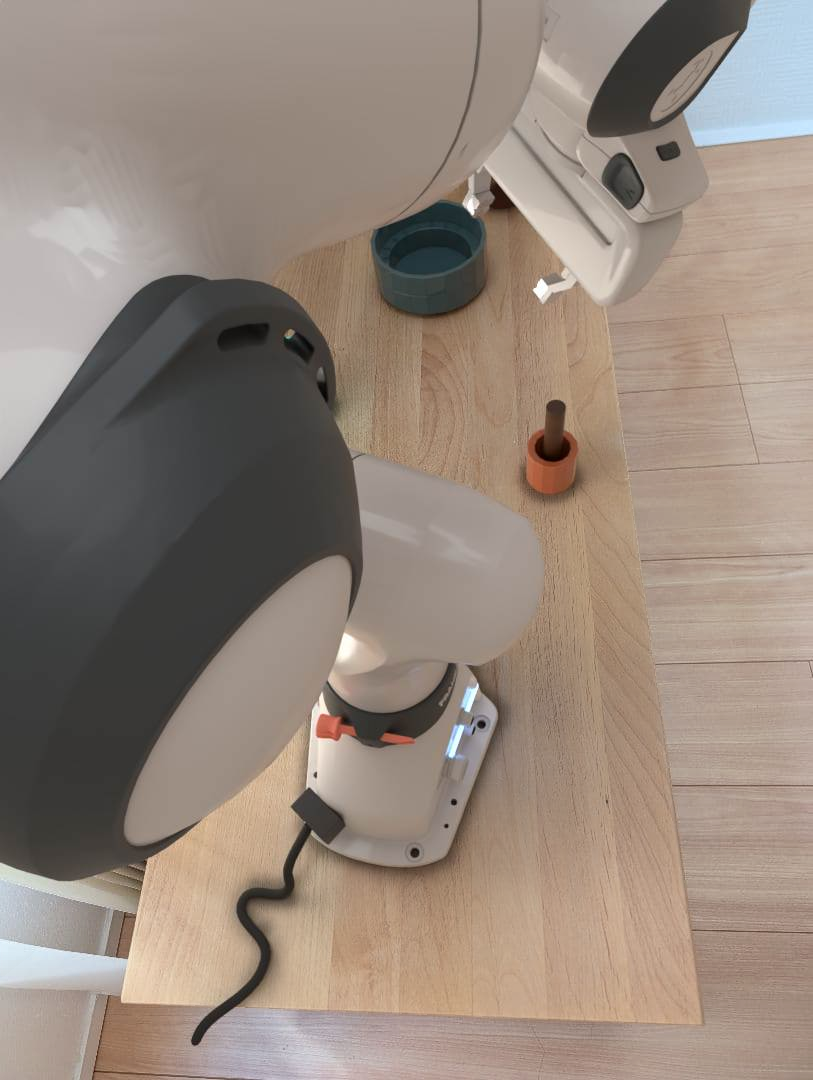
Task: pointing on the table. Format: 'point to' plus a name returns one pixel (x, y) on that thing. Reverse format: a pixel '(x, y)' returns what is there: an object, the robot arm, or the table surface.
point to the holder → (551, 465)
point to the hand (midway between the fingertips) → (507, 253)
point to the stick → (554, 430)
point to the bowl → (431, 259)
